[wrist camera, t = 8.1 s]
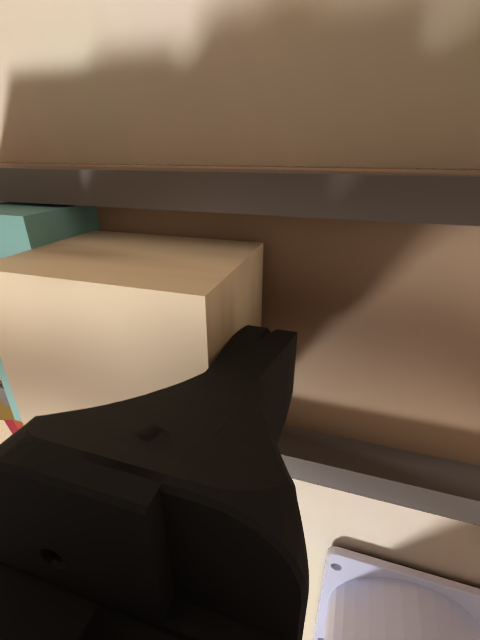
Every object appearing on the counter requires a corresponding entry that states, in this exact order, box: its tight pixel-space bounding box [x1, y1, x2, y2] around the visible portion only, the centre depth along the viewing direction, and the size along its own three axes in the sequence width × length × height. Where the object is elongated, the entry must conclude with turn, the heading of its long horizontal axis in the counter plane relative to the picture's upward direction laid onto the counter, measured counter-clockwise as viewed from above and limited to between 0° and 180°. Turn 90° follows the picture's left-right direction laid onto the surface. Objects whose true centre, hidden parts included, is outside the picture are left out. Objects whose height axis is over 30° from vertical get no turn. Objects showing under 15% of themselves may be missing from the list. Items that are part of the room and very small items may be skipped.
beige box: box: [0, 230, 263, 425], centre depth 11 cm, size 6×6×4 cm
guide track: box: [0, 163, 480, 526], centre depth 11 cm, size 10×30×4 cm, turn 90°
